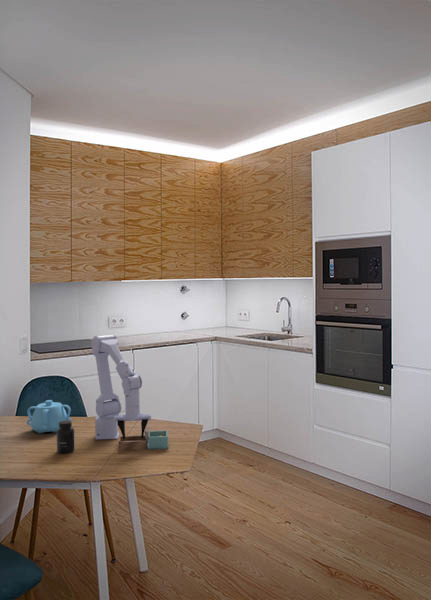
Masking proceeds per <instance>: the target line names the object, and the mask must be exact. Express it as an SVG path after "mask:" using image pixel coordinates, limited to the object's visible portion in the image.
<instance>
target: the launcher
mask: <svg viewBox="0 0 431 600" xmlns="http://www.w3.org/2000/svg"><path fill="white" fill-rule="evenodd" d="M119 437H120V438H119V439H120V440H119V441H118V443H117V444H118V452H123V451H125V452H126V451H127V452H128V451H144V450H145V451H146V450H148V443H146V440H145V434H144V437H143V439H141V434H138V435H137V434H136V435H134V434H133V435H125V439H123V436H122V435H119Z"/></svg>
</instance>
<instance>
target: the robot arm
mask: <svg viewBox="0 0 431 600" xmlns="http://www.w3.org/2000/svg"><path fill="white" fill-rule="evenodd" d="M91 349H92V350H91V351H92V355H93V356H94V357H95V363H96V369H97V376H98V377H97V378H98V383H99V389H100V390H99V391H100V395H99V396H98V398H97V399H96V400H95V413H96V415H97V416H96V417H95V423H94V424H95V425H94V426H95V427H94V430H95V440H97V441H98V440H117V439H119V437H120V432H121V436H123V439H125V436H126V427H125V425H126V422H133V421H137V422H139V421H141V422H140V423H141V434H140V435H141V439H143V437H144V435H145V429H147V426H148V422H149V421H150V422H151V420H152V414H143V413H141V412H140V411H141V410H140V409H141V408H140V407H141V406H140V401H141V400H140V389H141V388H142V386H143V380H142V377H141V375H139V374H137V373H136V372H135V371H134V369H133V368H132V367H131V364H130V363H129V362H128V361H127V360H124V357H123V354H122V353H121V351H120V349H119V340H118V337H117V336H116V334H115V333H113V334H107V335H95V336H94V337H93V338H92V339H91ZM109 356H110V358H111V359H112V361H113V362H114V364H115V365H116V366H115V370H116V372H117V374H118V375H119V377H120V379H121V387H122V390H123V394H124V399H125V401H124V403H125V408H124V409H125V414H121V415H120V413H121V412H122V403H121V401H120V398H119V395H117V394H116V393H115V392H113V391H114V390H113V384H112V377H111V371H110V370H111V369H110V365H109V358H108V357H109ZM118 429H119V430H120V432H119V430H118Z"/></svg>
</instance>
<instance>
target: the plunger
mask: <svg viewBox="0 0 431 600" xmlns="http://www.w3.org/2000/svg"><path fill="white" fill-rule="evenodd" d="M144 435H145V440H146V443H148V441H149V437H150V430H149V428H145V431H144Z"/></svg>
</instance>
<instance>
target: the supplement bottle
mask: <svg viewBox="0 0 431 600" xmlns="http://www.w3.org/2000/svg"><path fill="white" fill-rule="evenodd" d="M72 422H73V421H72ZM72 422H71V421H70V420H69V419H68V420H65V421H61V422H59V429H58V430H57V432H56V452H57V453H58V454H60V455H67V454H71V453H73V452H75V428H74V427H72V426H73V425H72V424H73V423H72Z"/></svg>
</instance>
